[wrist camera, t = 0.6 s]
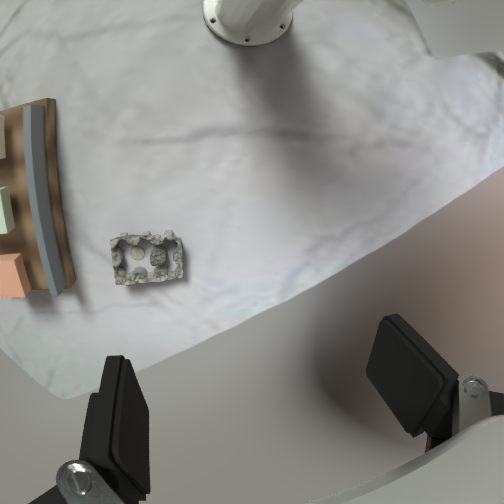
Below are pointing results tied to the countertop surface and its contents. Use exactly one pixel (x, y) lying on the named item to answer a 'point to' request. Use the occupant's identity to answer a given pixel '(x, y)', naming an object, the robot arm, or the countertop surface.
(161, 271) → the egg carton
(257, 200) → the countertop surface
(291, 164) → the countertop surface
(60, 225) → the keypad
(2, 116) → the key cream
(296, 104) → the countertop surface
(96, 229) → the countertop surface
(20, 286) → the key terracotta
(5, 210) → the key sage
